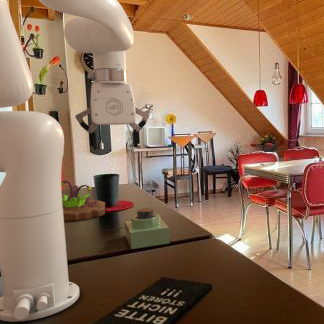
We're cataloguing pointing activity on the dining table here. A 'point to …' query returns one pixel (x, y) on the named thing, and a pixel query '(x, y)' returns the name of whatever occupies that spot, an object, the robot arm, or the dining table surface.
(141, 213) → the dark round button cap
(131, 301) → the dining table surface
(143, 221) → the button base
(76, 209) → the plant
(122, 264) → the dining table surface
